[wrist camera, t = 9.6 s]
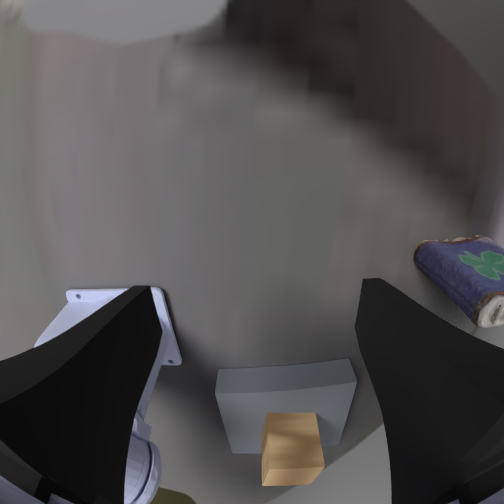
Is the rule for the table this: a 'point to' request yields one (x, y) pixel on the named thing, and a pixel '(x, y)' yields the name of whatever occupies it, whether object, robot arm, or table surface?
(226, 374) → the base block
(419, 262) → the flask
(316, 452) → the oak block
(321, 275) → the table surface
